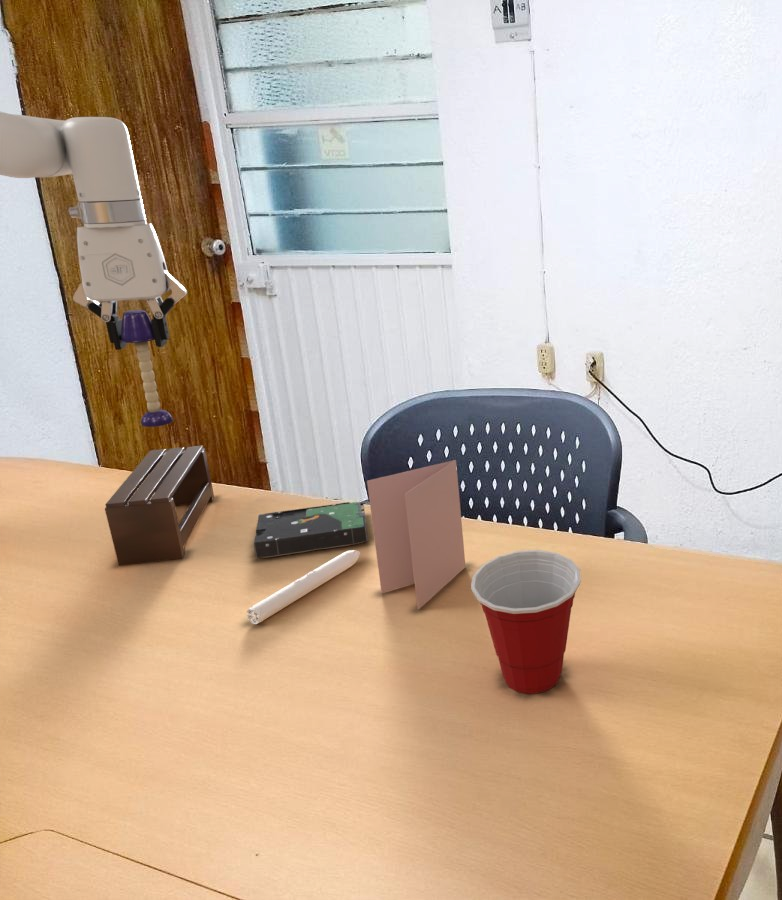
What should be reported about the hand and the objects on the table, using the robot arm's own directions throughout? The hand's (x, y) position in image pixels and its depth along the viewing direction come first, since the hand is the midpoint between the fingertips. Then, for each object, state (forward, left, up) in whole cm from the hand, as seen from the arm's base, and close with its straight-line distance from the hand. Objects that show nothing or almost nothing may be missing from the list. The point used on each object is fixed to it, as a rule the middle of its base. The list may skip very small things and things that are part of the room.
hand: (141, 345), depth 119 cm
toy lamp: (0, 0, -12) cm, 12 cm away
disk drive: (+21, -15, -27) cm, 37 cm away
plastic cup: (+46, -57, -27) cm, 78 cm away
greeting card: (+37, -35, -27) cm, 58 cm away
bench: (0, -6, -26) cm, 27 cm away
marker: (+22, -31, -27) cm, 47 cm away
